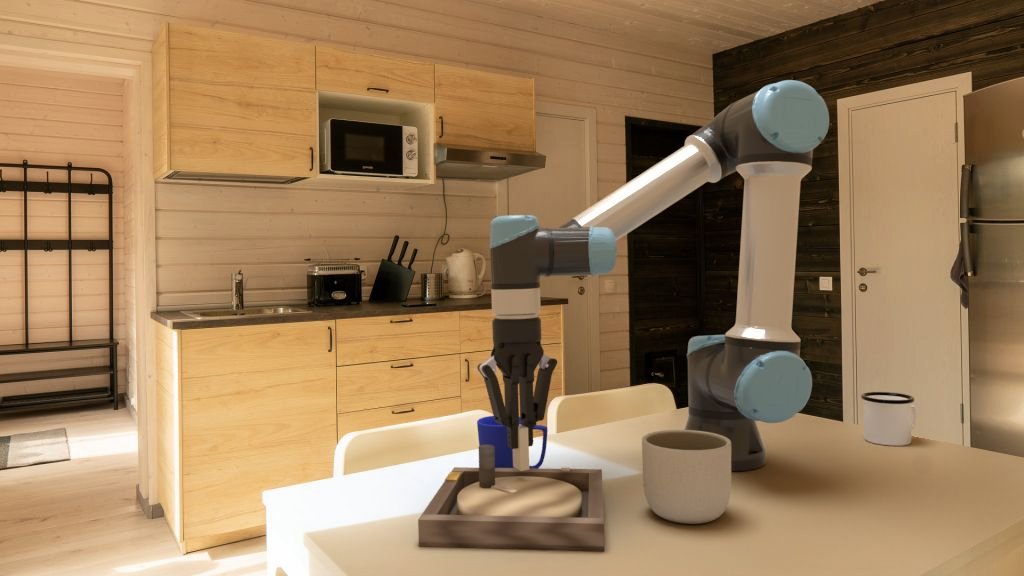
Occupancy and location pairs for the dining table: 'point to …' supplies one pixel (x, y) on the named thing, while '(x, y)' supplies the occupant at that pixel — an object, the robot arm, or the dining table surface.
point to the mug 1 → (503, 441)
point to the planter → (687, 474)
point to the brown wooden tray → (515, 531)
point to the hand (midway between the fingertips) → (521, 467)
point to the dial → (517, 494)
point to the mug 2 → (888, 418)
